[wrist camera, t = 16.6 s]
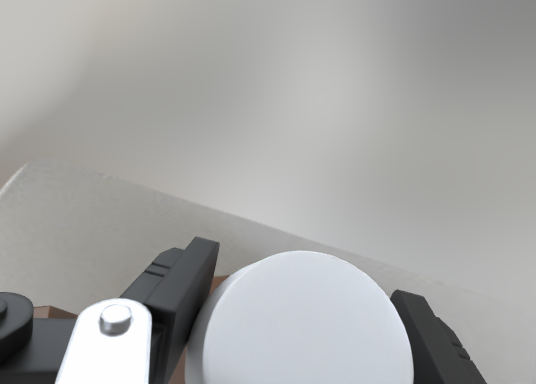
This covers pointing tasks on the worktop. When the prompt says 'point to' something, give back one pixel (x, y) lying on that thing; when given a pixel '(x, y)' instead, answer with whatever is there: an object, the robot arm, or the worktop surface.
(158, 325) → the robot arm
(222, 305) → the pill bottle
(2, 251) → the worktop surface
